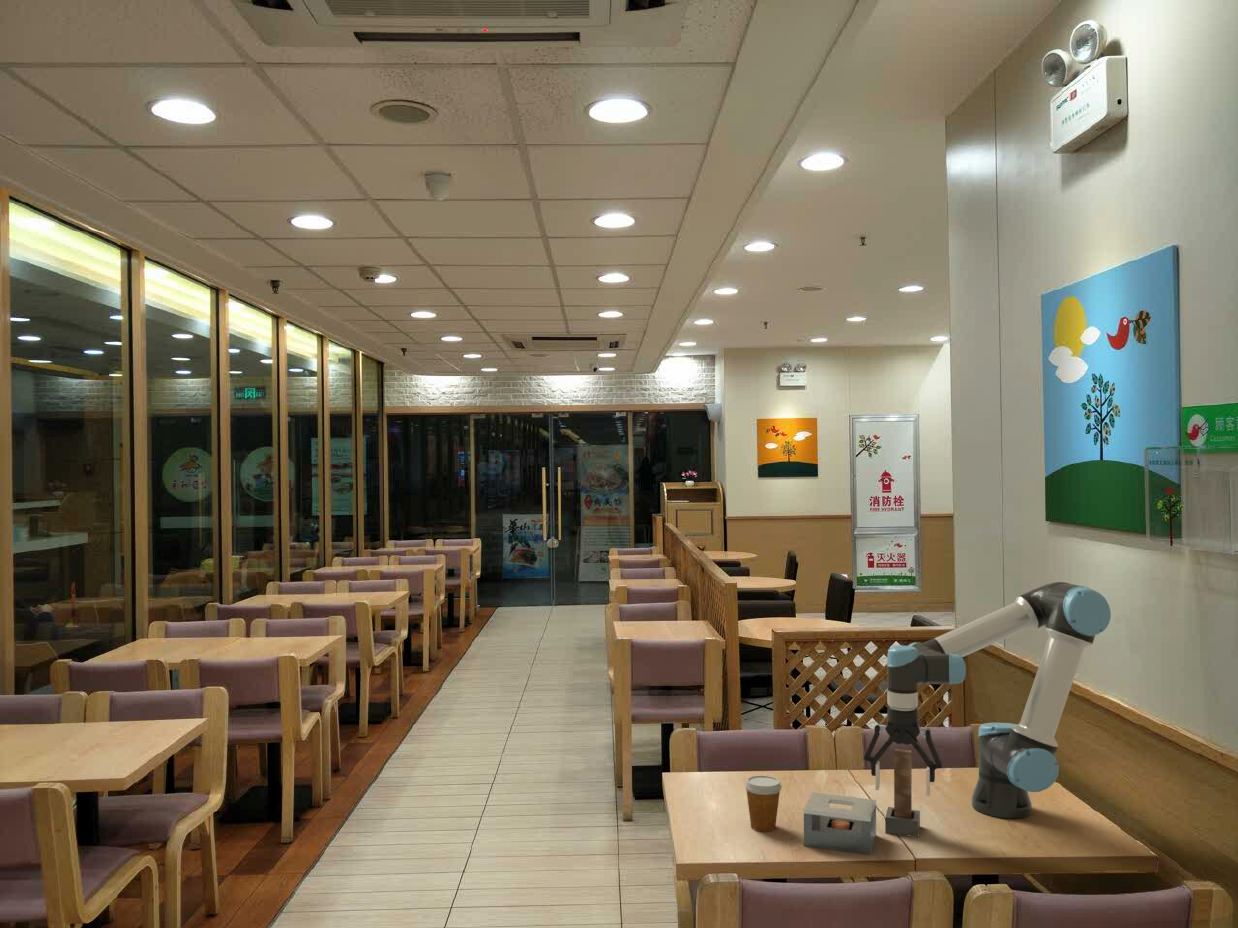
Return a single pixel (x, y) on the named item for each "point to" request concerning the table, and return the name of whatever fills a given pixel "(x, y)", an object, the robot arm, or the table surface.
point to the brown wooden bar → (903, 783)
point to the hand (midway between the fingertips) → (902, 791)
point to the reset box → (858, 817)
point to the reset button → (840, 824)
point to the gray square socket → (902, 823)
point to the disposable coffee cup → (763, 801)
